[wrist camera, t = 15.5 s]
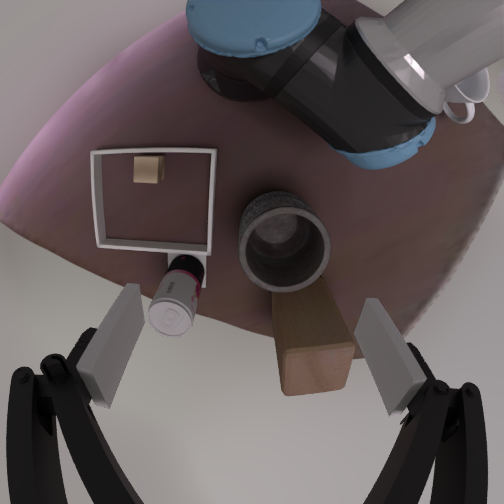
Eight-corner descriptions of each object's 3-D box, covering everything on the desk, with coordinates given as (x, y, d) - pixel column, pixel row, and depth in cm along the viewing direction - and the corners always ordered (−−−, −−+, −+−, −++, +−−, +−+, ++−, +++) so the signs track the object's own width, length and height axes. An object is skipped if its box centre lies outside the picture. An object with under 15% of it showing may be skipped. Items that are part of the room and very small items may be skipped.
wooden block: (271, 320, 56) (282, 399, 37) (270, 277, 52) (284, 354, 33) (319, 316, 56) (345, 391, 37) (323, 274, 52) (358, 345, 33)
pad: (168, 249, 49) (167, 250, 48) (206, 252, 49) (206, 253, 49) (169, 283, 52) (169, 284, 51) (205, 286, 52) (205, 287, 52)
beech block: (143, 154, 42) (134, 156, 38) (165, 155, 42) (158, 157, 38) (142, 177, 43) (133, 182, 40) (164, 179, 44) (157, 183, 40)
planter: (296, 261, 50) (311, 301, 39) (231, 244, 49) (227, 281, 37) (320, 198, 46) (345, 222, 34) (251, 177, 44) (253, 194, 32)
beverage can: (211, 263, 50) (200, 314, 36) (196, 290, 52) (182, 344, 38) (178, 247, 48) (155, 292, 34) (164, 275, 50) (141, 325, 37)
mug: (458, 115, 38) (503, 119, 27) (422, 129, 40) (468, 134, 28) (431, 47, 33) (473, 35, 21) (391, 55, 35) (433, 39, 23)
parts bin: (98, 149, 41) (90, 151, 38) (217, 148, 42) (215, 149, 39) (104, 241, 48) (97, 247, 45) (212, 248, 49) (210, 255, 46)
